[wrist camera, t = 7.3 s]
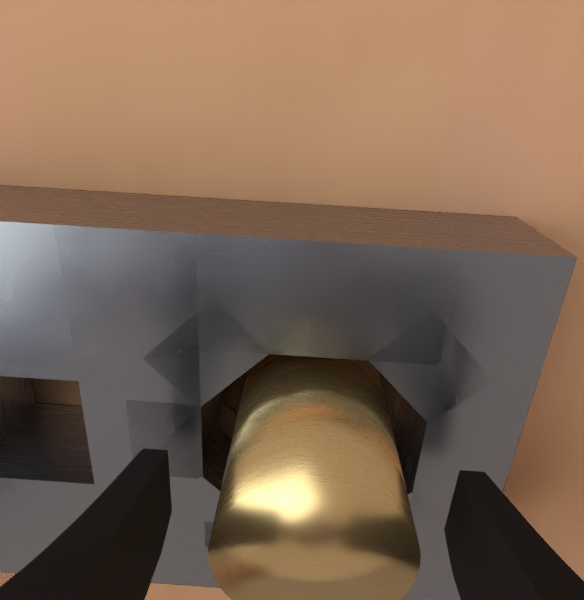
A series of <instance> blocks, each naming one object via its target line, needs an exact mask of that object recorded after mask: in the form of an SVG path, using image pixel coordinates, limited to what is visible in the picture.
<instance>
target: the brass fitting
mask: <svg viewBox="0 0 584 600" xmlns="http://www.w3.org/2000/svg"><path fill="white" fill-rule="evenodd" d="M208 560H209V565H210V569H211V571H212V574H213V577H214V578H215V580H216V582H217V583H218V585H219V586H220V588H221V589H222V590H223V591H224V592H225V594H226V595H228V596H229V597H230V598H231V599H232V600H401V599H402V598H403V597H404V596H405V595H406V593H407V592H408V591H409V590H410V588H411V587H412V585H413V584H414V582H415V580H416V577H417V575H418V572H419V568H420V560H421V553H420V546H419V542H418V537H417V533H416V529H415V524H414V520H413V516H412V512H411V507H410V503H409V499H408V494H407V490H406V486H405V482H404V477H403V473H402V469H401V464H400V460H399V456H398V452H397V447H396V443H395V439H394V434H393V430H392V426H391V422H390V417H389V413H388V409H387V404H386V400H385V396H384V392H383V387H382V383H381V379H380V375H379V371H378V370H377V369H376V368H375V367H374V366H373V365H372V364H371V363H370V362H369V361H367V360H352V359H336V358H321V357H306V356H291V355H275V354H268V355H267V356H266V357H265V358H263V359H262V360H261V361H259V362H258V363H257V364H256V365H254V366H253V367H252V368H250V369H249V370H248V371H247V375H246V379H245V383H244V388H243V392H242V397H241V401H240V406H239V410H238V415H237V419H236V424H235V428H234V433H233V437H232V442H231V446H230V451H229V455H228V460H227V464H226V468H225V473H224V477H223V482H222V486H221V491H220V495H219V500H218V504H217V509H216V513H215V518H214V522H213V527H212V531H211V536H210V540H209V546H208Z"/></svg>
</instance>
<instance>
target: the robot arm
mask: <svg viewBox="0 0 584 600" xmlns="http://www.w3.org/2000/svg"><path fill="white" fill-rule="evenodd" d="M171 513H172V503H171V489H170V475H169V461H168V450H159V449H145V448H143V449H142V450H141V451H139V453H138V454H137V455H136V456H135V457H134V458H133V459H132V460H131V462H130V463H129V464H128V465H127V466H126V467H125V468H124V470H123V471H122V472H121V473H120V474H119V475H118V476H117V477H116V478H115V479H114V481H113V482H112V483H111V484H110V485H109V486H108V487H107V488H106V489H105V490H104V491H103V492H102V494H101V495H100V496H99V497H98V498H97V499H96V500H95V501H94V502H93V503H92V504H91V505H90V506H89V507H88V508H87V509H86V510H85V511H84V512H83V513H82V514H81V515H80V516H79V517H78V518H77V519H76V520H75V521H74V522H73V523H72V524H71V525H70V526H69V527H68V528H67V529H66V530H65V531H64V532H62V533H61V534H60V535H59V536H58V537H57V538H56V539H55V540H54V541H53V542H52V543H51V544H50V545H49V546H48V547H47V548H45V549H44V550H43V551H42V552H41V553H40V554H39V555H38V556H36V557H35V558H34V559H33V560H32V561H31V562H30V563H28V564H27V565H26V566H25V567H24V568H23V569H21V570H20V571H19V572H18V573H17V574H15V575H14V576H13V577H12V578H11V579H9V580H8V581H7V582H6V583H5V584H3V585H2V586H1V587H0V600H144V599H145V596H146V594H147V591H148V588H149V585H150V583H151V580H152V577H153V575H154V572H155V569H156V566H157V564H158V561H159V558H160V555H161V552H162V549H163V545H164V541H165V537H166V533H167V529H168V525H169V521H170V517H171ZM444 532H445V537H446V543H447V548H448V554H449V558H450V563H451V568H452V573H453V576H454V580H455V583H456V586H457V590H458V593H459V596H460V599H461V600H584V581H583V580H582V579H581V578H580V577H579V576H578V575H577V574H576V573H575V572H574V571H573V570H572V569H571V568H570V567H569V566H568V565H567V564H566V563H565V562H564V561H563V560H562V559H561V558H560V557H559V556H558V555H557V553H556V552H555V551H554V550H553V549H552V548H551V547H550V546H549V545H548V544H547V543H546V541H545V540H544V539H543V538H542V537H541V536H540V535H539V534H538V533H537V532H536V531H535V529H534V528H533V527H532V526H531V525H530V524H529V523H528V521H527V520H526V519H525V518H524V517H523V516H522V515H521V513H520V512H519V511H518V510H517V509H516V508H515V506H514V505H513V504H512V503H511V502H510V501H509V499H508V498H507V497H506V496H505V495H504V494H503V493H502V491H501V490H500V489H499V488H498V487H497V485H496V484H495V483H494V482H493V481H492V480H491V479H490V477H489V476H488V475H487V474H486V473H485V472H480V471H466V470H460V471H459V474H458V478H457V482H456V486H455V490H454V494H453V497H452V501H451V505H450V509H449V513H448V517H447V520H446V524H445V528H444Z"/></svg>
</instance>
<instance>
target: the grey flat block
mask: <svg viewBox="0 0 584 600" xmlns="http://www.w3.org/2000/svg"><path fill="white" fill-rule="evenodd" d="M576 259H577V257H576V256H574V255H573V254H571V253H570V252H568V251H566V250H565V249H563V248H562V247H560V246H559V245H557V244H556V243H554V242H553V241H551V240H550V239H548V238H547V237H545V236H544V235H542V234H541V233H539V232H538V231H536V230H534V229H533V228H531V227H530V226H528V225H527V224H525V223H524V222H522V221H521V220H519V219H518V218H516V217H506V216H490V215H473V214H457V213H441V212H425V211H408V210H392V209H376V208H360V207H343V206H327V205H311V204H295V203H278V202H262V201H246V200H230V199H213V198H197V197H181V196H165V195H148V194H132V193H116V192H99V191H83V190H67V189H51V188H34V187H18V186H2V185H0V572H8V573H18V572H19V571H20V570H21V569H23V568H24V567H25V566H26V565H27V564H28V563H30V562H31V561H32V560H33V559H34V558H35V557H36V556H38V555H39V554H40V553H41V552H42V551H43V550H44V549H45V548H47V547H48V546H49V545H50V544H51V543H52V542H53V541H54V540H55V539H56V538H57V537H58V536H59V535H60V534H61V533H62V532H64V531H65V530H66V529H67V528H68V527H69V526H70V525H71V524H72V523H73V522H74V521H75V520H76V519H77V518H78V517H79V516H80V515H81V514H82V513H83V512H84V511H85V510H86V509H87V508H88V507H89V506H90V505H91V504H92V503H93V502H94V501H95V500H96V499H97V498H98V497H99V496H100V495H101V494H102V492H103V491H104V490H105V489H106V488H107V487H108V486H109V485H110V484H111V483H112V482H113V481H114V479H115V478H116V477H117V476H118V475H119V474H120V473H121V472H122V471H123V470H124V468H125V467H126V466H127V465H128V464H129V463H130V462H131V460H132V459H133V458H134V457H135V456H136V455H137V454H138V453H139V451H141V450H142V449H143V448H145V449H159V450H168V461H169V475H170V489H171V503H172V513H171V517H170V521H169V525H168V529H167V533H166V537H165V541H164V545H163V549H162V552H161V555H160V558H159V561H158V564H157V566H156V569H155V572H154V575H153V577H152V580H151V583H160V584H174V585H188V586H202V587H216V588H220V586H219V585H218V583H217V582H216V580H215V578H214V577H213V574H212V571H211V569H210V565H209V560H208V546H209V540H210V536H211V531H212V527H213V522H214V518H215V513H216V509H217V504H218V500H219V495H220V491H221V486H222V482H223V477H224V473H225V468H226V464H227V460H228V455H229V451H230V446H231V442H232V437H233V433H234V428H235V424H236V419H237V414H235V413H234V412H233V411H232V410H231V409H230V408H229V407H227V406H226V405H225V404H224V388H226V387H227V386H228V385H230V384H231V383H232V382H234V381H235V380H236V379H237V378H239V377H240V376H241V375H243V374H244V373H245V372H246V371H248V370H249V369H250V368H252V367H253V366H254V365H256V364H257V363H258V362H259V361H261V360H262V359H263V358H265V357H266V356H267V355H268V354H275V355H291V356H306V357H321V358H336V359H352V360H367V361H369V362H370V363H371V364H372V365H373V366H374V367H375V368H376V369H377V370H378V371H379V372H380V373H381V374H382V375H383V376H384V377H385V378H386V379H387V380H388V381H389V383H390V384H391V385H392V386H393V387H394V388H395V389H396V390H397V397H396V403H395V408H394V414H393V415H392V416H390V422H391V426H392V430H393V434H394V439H395V443H396V447H397V452H398V456H399V460H400V464H401V469H402V473H403V477H404V482H405V486H406V490H407V494H408V499H409V503H410V507H411V512H412V516H413V520H414V524H415V529H416V533H417V537H418V542H419V546H420V553H421V560H420V568H419V572H418V575H417V577H416V580H415V582H414V584H413V585H412V587H411V588H410V590H409V591H408V592H407V593H406V595H405V596H404V597H403V598H402V599H401V600H461V599H460V596H459V593H458V590H457V586H456V583H455V580H454V576H453V573H452V568H451V563H450V558H449V554H448V548H447V543H446V537H445V532H444V528H445V524H446V520H447V517H448V513H449V509H450V505H451V501H452V497H453V494H454V490H455V486H456V482H457V478H458V474H459V471H460V470H466V471H480V472H485V473H486V474H487V475H488V476H489V477H490V479H491V480H492V481H493V482H494V483H495V484H496V485H497V487H498V488H499V489H500V490H501V491H502V492H503V488H504V485H505V482H506V479H507V476H508V473H509V470H510V466H511V463H512V460H513V457H514V454H515V451H516V447H517V444H518V441H519V438H520V435H521V432H522V429H523V425H524V422H525V419H526V416H527V413H528V410H529V407H530V403H531V400H532V397H533V394H534V391H535V388H536V385H537V381H538V378H539V375H540V372H541V369H542V366H543V363H544V359H545V356H546V353H547V350H548V347H549V344H550V340H551V337H552V334H553V331H554V328H555V325H556V322H557V318H558V315H559V312H560V309H561V306H562V303H563V300H564V296H565V293H566V290H567V287H568V284H569V281H570V278H571V274H572V271H573V268H574V265H575V262H576ZM31 378H38V379H53V380H68V381H78V383H79V389H80V395H81V402H82V406H71V405H56V404H41V403H36V402H35V397H34V392H33V388H32V383H31Z"/></svg>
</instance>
